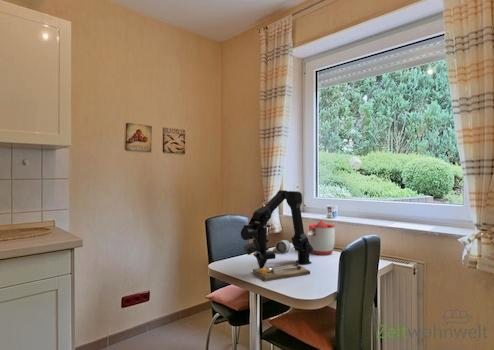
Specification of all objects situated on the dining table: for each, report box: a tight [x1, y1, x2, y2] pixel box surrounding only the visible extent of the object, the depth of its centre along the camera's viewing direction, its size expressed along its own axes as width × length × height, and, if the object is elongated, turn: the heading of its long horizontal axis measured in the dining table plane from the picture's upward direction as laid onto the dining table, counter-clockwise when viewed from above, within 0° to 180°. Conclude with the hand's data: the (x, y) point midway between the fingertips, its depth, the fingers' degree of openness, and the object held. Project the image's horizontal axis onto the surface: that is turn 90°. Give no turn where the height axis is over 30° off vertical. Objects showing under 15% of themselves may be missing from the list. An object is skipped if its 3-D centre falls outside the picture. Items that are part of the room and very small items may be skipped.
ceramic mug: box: [272, 239, 291, 255], centre depth 191 cm, size 11×8×8 cm
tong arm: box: [266, 263, 299, 273], centre depth 150 cm, size 2×17×2 cm, turn 113°
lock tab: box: [260, 267, 267, 274], centre depth 145 cm, size 3×2×2 cm
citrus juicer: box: [307, 220, 336, 256], centre depth 188 cm, size 16×17×20 cm
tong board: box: [252, 262, 311, 282], centre depth 150 cm, size 14×24×3 cm, turn 113°
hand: (261, 269), depth 148 cm, fingers closed
